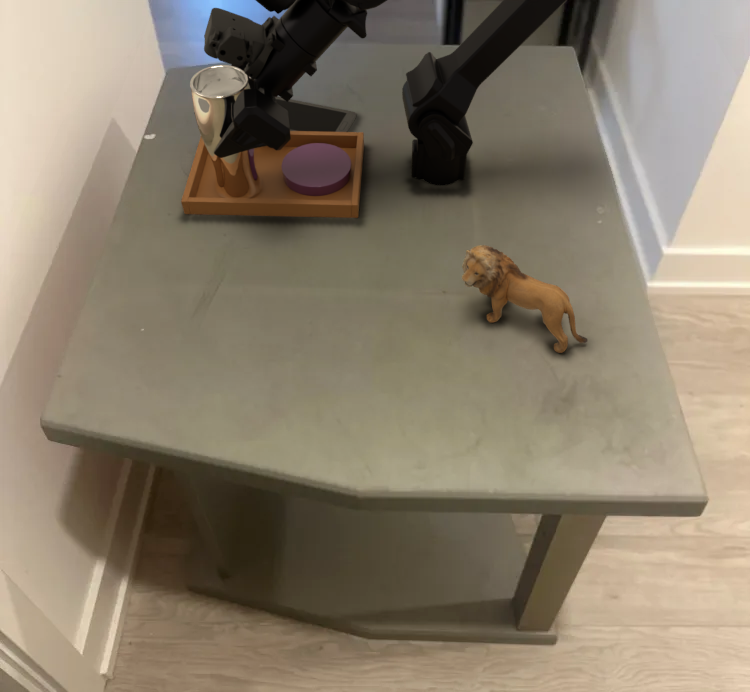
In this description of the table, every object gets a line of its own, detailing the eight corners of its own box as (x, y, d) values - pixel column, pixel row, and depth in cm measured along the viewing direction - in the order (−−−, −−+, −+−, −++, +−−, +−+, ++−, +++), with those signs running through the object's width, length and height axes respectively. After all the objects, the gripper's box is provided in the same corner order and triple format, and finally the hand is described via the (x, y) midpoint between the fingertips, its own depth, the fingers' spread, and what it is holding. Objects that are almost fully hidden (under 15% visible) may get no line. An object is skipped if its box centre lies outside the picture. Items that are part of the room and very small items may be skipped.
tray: (363, 149, 101) (363, 132, 99) (358, 222, 92) (357, 205, 90) (206, 146, 101) (202, 129, 99) (185, 218, 92) (180, 201, 90)
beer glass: (229, 211, 92) (207, 106, 80) (202, 182, 95) (176, 77, 84) (276, 189, 94) (262, 83, 83) (248, 161, 98) (230, 57, 86)
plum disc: (353, 152, 99) (353, 143, 98) (349, 197, 93) (349, 187, 92) (286, 151, 99) (285, 142, 98) (278, 195, 94) (277, 186, 93)
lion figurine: (449, 318, 82) (456, 261, 75) (466, 286, 85) (473, 228, 78) (580, 361, 78) (600, 305, 71) (592, 326, 81) (612, 269, 74)
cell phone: (340, 147, 101) (340, 142, 100) (247, 127, 104) (247, 123, 103) (358, 117, 105) (358, 112, 105) (269, 99, 108) (268, 94, 107)
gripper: (238, -54, 81) (160, 48, 89) (243, 35, 70) (152, 143, 77) (315, 11, 88) (236, 100, 96) (330, 101, 76) (239, 194, 84)
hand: (217, 131), depth 88 cm, fingers open, 9 cm apart
